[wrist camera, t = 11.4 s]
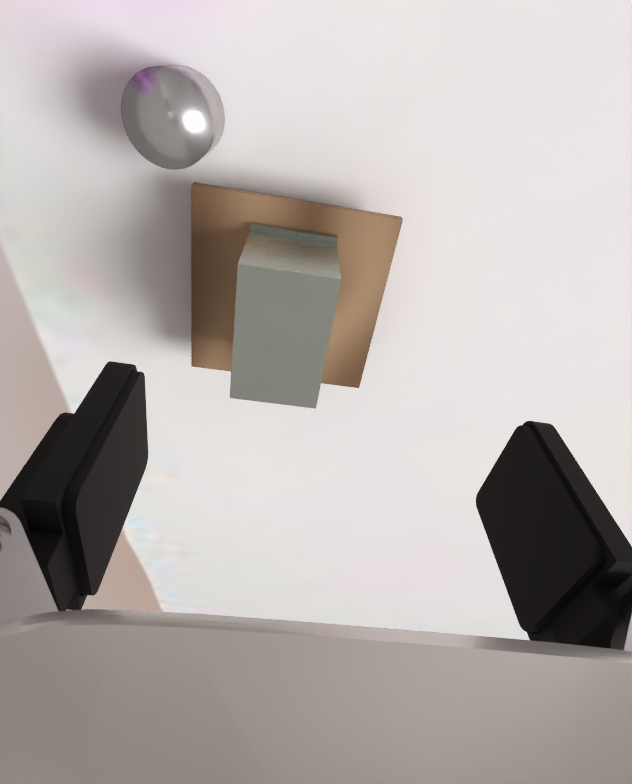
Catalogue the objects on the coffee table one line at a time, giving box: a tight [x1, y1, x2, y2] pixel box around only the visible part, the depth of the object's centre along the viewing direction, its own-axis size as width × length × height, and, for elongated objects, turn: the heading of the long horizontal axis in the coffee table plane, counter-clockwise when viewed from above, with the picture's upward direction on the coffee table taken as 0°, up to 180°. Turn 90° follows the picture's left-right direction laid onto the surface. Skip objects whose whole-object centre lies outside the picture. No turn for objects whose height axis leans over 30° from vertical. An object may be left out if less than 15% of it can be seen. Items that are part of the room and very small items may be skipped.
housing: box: [230, 222, 341, 408], centre depth 27 cm, size 9×5×6 cm, turn 171°
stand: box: [192, 182, 403, 388], centre depth 30 cm, size 12×12×3 cm
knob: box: [121, 66, 225, 169], centre depth 24 cm, size 4×4×4 cm
